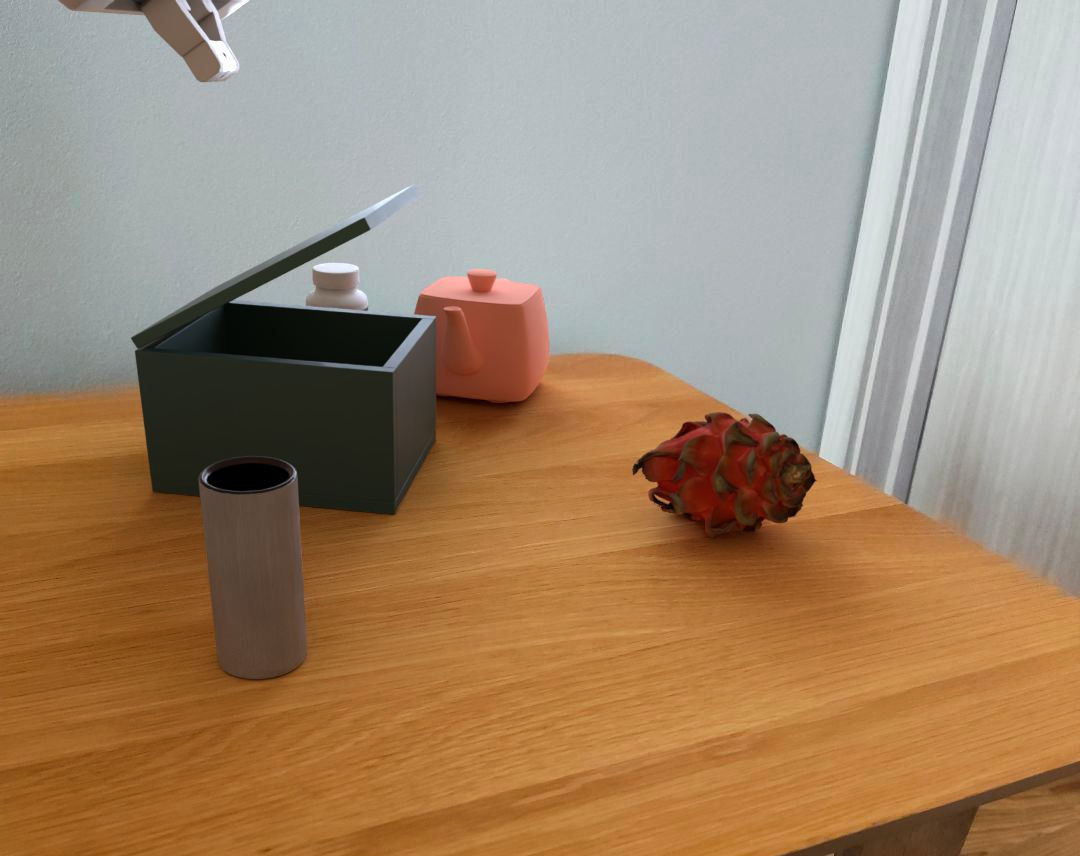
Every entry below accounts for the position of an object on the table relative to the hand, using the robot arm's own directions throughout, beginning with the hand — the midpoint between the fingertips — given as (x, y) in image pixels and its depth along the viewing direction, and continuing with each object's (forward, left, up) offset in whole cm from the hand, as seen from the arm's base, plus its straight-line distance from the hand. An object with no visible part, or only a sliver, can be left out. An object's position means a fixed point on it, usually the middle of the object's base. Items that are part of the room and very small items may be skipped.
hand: (221, 77), depth 64 cm
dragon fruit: (+22, +24, -26) cm, 42 cm away
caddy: (0, +4, -26) cm, 26 cm away
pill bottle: (-18, +15, -26) cm, 35 cm away
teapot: (-9, +24, -26) cm, 37 cm away
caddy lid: (0, +3, -12) cm, 12 cm away
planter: (+22, -8, -26) cm, 35 cm away
